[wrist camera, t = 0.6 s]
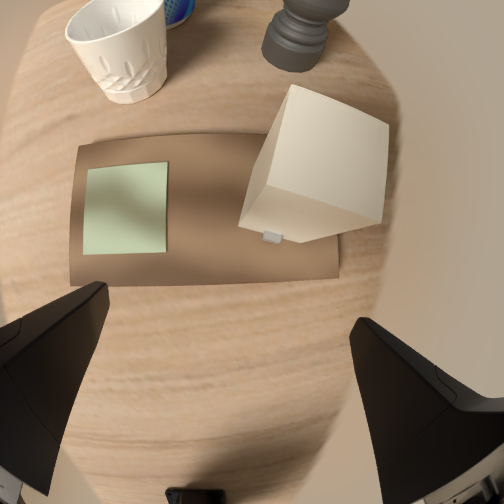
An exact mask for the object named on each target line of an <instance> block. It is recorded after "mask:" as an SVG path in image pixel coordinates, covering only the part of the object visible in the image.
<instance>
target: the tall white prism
mask: <svg viewBox="0 0 504 504" xmlns="http://www.w3.org/2000/svg"><path fill="white" fill-rule="evenodd" d="M388 145H389V125H388V124H386V123H384V122H382V121H380V120H378V119H376V118H374V117H372V116H370V115H368V114H366V113H364V112H362V111H360V110H357V109H355V108H353V107H351V106H348V105H346V104H344V103H341V102H339V101H337V100H334V99H332V98H329V97H327V96H324V95H322V94H319V93H316V92H314V91H311V90H308V89H305V88H302V87H299V86H296V85H293V84H291V86H290V88H289V90H288V92H287V95H286V97H285V99H284V101H283V103H282V105H281V107H280V109H279V112H278V114H277V116H276V118H275V120H274V122H273V125H272V127H271V129H270V131H269V133H268V135H267V138H266V140H265V142H264V144H263V147H262V149H261V151H260V153H259V155H258V158H257V160H256V162H255V164H254V167H253V171H252V175H251V178H250V182H249V186H248V189H247V193H246V197H245V201H244V205H243V208H242V212H241V216H240V220H239V224H238V226H239V227H242V228H246V229H250V230H254V231H257V232H261V233H263V236H262V240H264V241H268V242H271V243H275V244H278V243H280V241H281V238H283V239H287V240H290V241H294V242H298V243H303V242H307V241H311V240H315V239H319V238H323V237H327V236H331V235H335V234H339V233H343V232H347V231H351V230H355V229H359V228H363V227H367V226H371V225H375V224H379V223H381V221H382V214H383V206H384V197H385V188H386V176H387V163H388Z"/></svg>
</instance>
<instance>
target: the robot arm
mask: <svg viewBox="0 0 504 504" xmlns="http://www.w3.org/2000/svg"><path fill="white" fill-rule="evenodd" d="M109 306H110V301H109V291H108V285H107V283H106V282H102V281H94V282H92V283H90V284H88V285H86V286H83V287H81V288H79V289H77V290H75V291H73V292H71V293H69V294H67V295H65V296H63V297H61V298H59V299H57V300H54V301H52V302H50V303H48V304H46V305H44V306H42V307H40V308H38V309H36V310H34V311H32V312H30V313H29V314H27V315H25V316H23V317H22V318H19V319H17V320H15V321H13V322H11V323H9V324H7V325H5V326H3V327H1V328H0V504H25V502H24V500H23V498H22V496H21V494H20V493H21V489H22V485H23V484H25V485H27V486H29V487H30V488H32V489H34V490H36V491H37V492H39V493H41V494H43V495H45V496H48V494H49V490H50V485H51V480H52V476H53V472H54V467H55V463H56V460H57V456H58V452H59V449H60V444H61V441H62V438H63V434H64V431H65V428H66V425H67V422H68V419H69V416H70V413H71V410H72V407H73V404H74V401H75V398H76V396H77V393H78V390H79V388H80V385H81V382H82V380H83V377H84V375H85V372H86V370H87V367H88V365H89V363H90V360H91V358H92V355H93V353H94V351H95V348H96V346H97V343H98V340H99V337H100V334H101V331H102V328H103V325H104V322H105V319H106V316H107V313H108V310H109ZM349 340H350V346H351V352H352V358H353V364H354V370H355V374H356V379H357V382H358V386H359V390H360V394H361V397H362V402H363V405H364V410H365V414H366V418H367V422H368V426H369V431H370V436H371V440H372V445H373V449H374V454H375V459H376V464H377V467H378V468H377V470H378V476H379V482H380V487H381V493H382V500H383V504H413V503H415V502H417V501H419V500H422V499H423V500H424V503H425V504H504V397H503V398H487V397H484V396H481V395H480V394H478V393H476V392H475V391H473V390H472V389H470V388H468V387H467V386H465V385H464V384H462V383H461V382H459V381H457V380H456V379H454V378H453V377H451V376H450V375H448V374H447V373H445V372H444V371H443V370H441V369H440V368H439V367H437V366H436V365H434V364H433V363H432V362H430V361H429V360H427V359H426V358H425V357H423V356H422V355H421V354H419V353H418V352H416V351H415V350H414V349H412V348H411V347H409V346H408V345H407V344H405V343H404V342H402V341H401V340H400V339H398V338H397V337H396V336H394V335H393V334H391V333H390V332H389V331H387V330H386V329H384V328H383V327H381V326H380V325H378V324H377V323H376V322H374V321H373V320H372V319H370V318H368V317H359V318H358V319H357V321H356V323H355V325H354V327H353V329H352V331H351V333H350V336H349ZM165 495H166V497H167V500H168V503H169V504H227V502H226V497H225V492H224V491H223V490H170V489H168V490H166V491H165Z"/></svg>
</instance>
